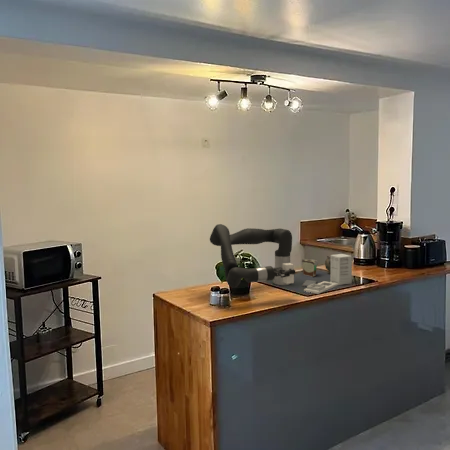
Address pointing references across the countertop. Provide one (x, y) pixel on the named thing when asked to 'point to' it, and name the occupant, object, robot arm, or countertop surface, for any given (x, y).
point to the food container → (309, 267)
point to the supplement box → (341, 269)
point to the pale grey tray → (320, 287)
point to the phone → (308, 283)
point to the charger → (290, 278)
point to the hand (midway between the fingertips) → (292, 270)
